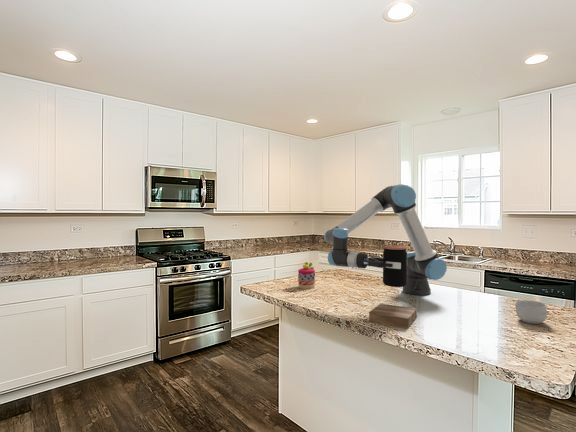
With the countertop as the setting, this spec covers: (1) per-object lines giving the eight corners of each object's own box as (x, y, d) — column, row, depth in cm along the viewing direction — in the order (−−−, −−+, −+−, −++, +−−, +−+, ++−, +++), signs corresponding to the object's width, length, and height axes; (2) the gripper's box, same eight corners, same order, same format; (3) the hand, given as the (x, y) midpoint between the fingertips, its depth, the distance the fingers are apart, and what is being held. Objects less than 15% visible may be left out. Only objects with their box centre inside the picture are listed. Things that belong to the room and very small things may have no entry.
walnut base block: (380, 311, 155) (380, 303, 155) (416, 317, 147) (416, 308, 147) (369, 321, 142) (369, 312, 142) (408, 328, 133) (408, 318, 133)
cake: (315, 289, 200) (315, 264, 200) (298, 289, 200) (298, 264, 200) (314, 285, 211) (314, 261, 210) (297, 285, 211) (297, 261, 211)
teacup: (548, 327, 134) (548, 307, 134) (515, 323, 140) (515, 304, 140) (544, 318, 146) (544, 300, 146) (514, 314, 152) (514, 296, 152)
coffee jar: (410, 284, 156) (411, 246, 156) (400, 288, 148) (400, 248, 148) (389, 281, 163) (389, 244, 163) (378, 284, 156) (378, 246, 155)
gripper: (366, 264, 175) (409, 268, 163) (348, 271, 156) (396, 276, 144) (366, 250, 175) (410, 253, 163) (349, 255, 156) (397, 259, 144)
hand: (403, 264), depth 153 cm, fingers closed on coffee jar, 11 cm apart
